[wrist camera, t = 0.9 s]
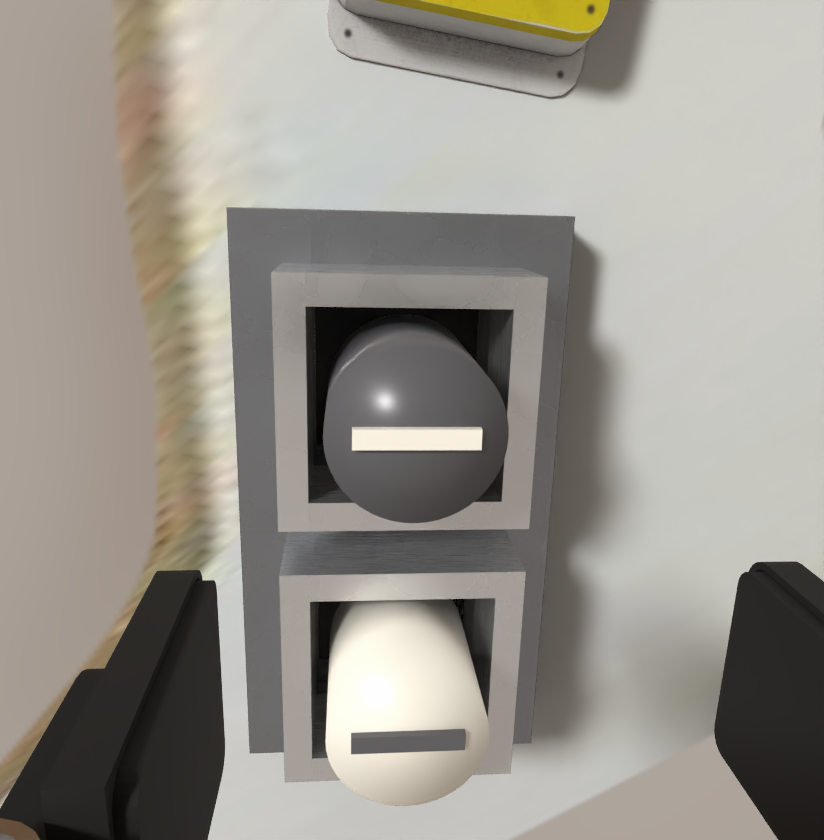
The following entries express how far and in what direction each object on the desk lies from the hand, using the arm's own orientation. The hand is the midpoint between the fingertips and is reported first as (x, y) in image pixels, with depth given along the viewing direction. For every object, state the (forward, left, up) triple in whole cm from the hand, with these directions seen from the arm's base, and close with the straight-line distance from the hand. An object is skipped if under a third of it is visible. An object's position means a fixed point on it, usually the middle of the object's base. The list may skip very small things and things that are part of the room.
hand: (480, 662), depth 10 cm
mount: (0, +5, -20) cm, 20 cm away
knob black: (0, 0, -17) cm, 17 cm away
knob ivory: (0, +10, -17) cm, 19 cm away
